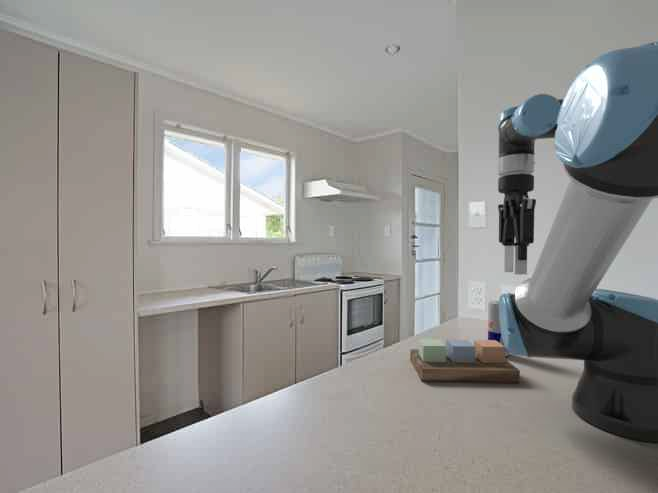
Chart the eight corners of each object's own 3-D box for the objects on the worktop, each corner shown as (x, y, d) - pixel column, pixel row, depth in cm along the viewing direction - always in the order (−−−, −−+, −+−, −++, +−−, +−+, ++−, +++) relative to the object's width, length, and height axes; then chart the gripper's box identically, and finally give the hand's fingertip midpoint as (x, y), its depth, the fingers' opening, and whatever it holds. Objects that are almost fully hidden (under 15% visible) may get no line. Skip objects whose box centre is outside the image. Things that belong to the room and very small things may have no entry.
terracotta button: (505, 363, 83) (505, 346, 83) (482, 363, 83) (482, 346, 83) (495, 355, 88) (495, 340, 88) (473, 355, 89) (474, 339, 88)
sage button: (445, 362, 84) (446, 346, 83) (423, 362, 84) (423, 345, 84) (439, 354, 89) (439, 339, 89) (418, 354, 89) (418, 339, 89)
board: (519, 383, 79) (519, 370, 79) (421, 381, 80) (421, 368, 80) (493, 361, 93) (493, 350, 93) (410, 360, 94) (410, 349, 94)
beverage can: (504, 351, 101) (505, 300, 101) (513, 357, 95) (513, 303, 95) (484, 350, 101) (485, 299, 101) (491, 357, 96) (492, 303, 96)
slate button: (475, 362, 83) (475, 346, 83) (452, 362, 84) (452, 346, 83) (467, 355, 89) (467, 339, 89) (446, 355, 89) (446, 339, 89)
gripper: (554, 167, 73) (552, 277, 74) (514, 181, 91) (512, 269, 92) (518, 168, 74) (516, 277, 74) (484, 181, 91) (484, 269, 92)
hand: (514, 272), depth 83 cm, fingers open, 4 cm apart
